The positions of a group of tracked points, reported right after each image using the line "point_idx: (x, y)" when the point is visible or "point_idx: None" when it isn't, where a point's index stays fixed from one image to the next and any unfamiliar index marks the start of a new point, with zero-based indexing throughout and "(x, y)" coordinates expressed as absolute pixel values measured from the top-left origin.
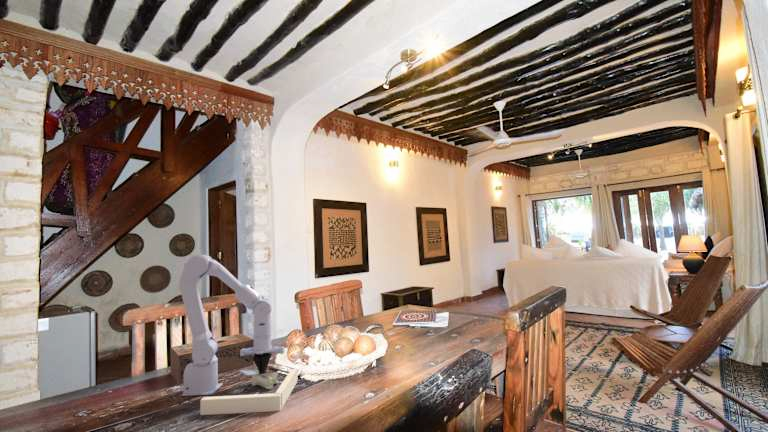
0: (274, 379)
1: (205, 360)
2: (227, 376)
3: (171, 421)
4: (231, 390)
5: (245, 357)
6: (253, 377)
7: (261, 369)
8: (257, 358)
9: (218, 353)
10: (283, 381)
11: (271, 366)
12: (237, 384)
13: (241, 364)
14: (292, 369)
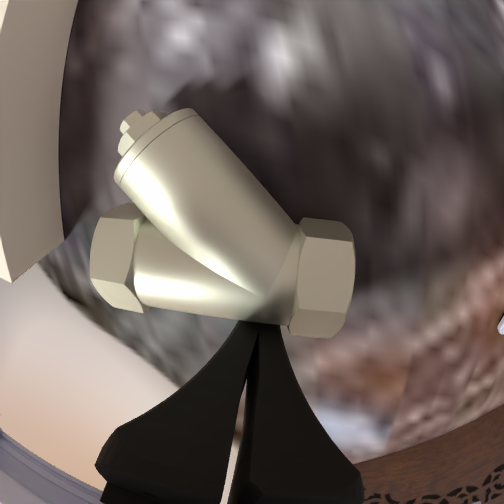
0: (125, 213)
1: None
2: (447, 408)
3: None
4: (477, 222)
5: None
6: (337, 263)
7: (255, 369)
8: (284, 490)
9: (482, 496)
10: (4, 9)
11: None
12: (434, 313)
13: (377, 471)
14: (4, 272)
